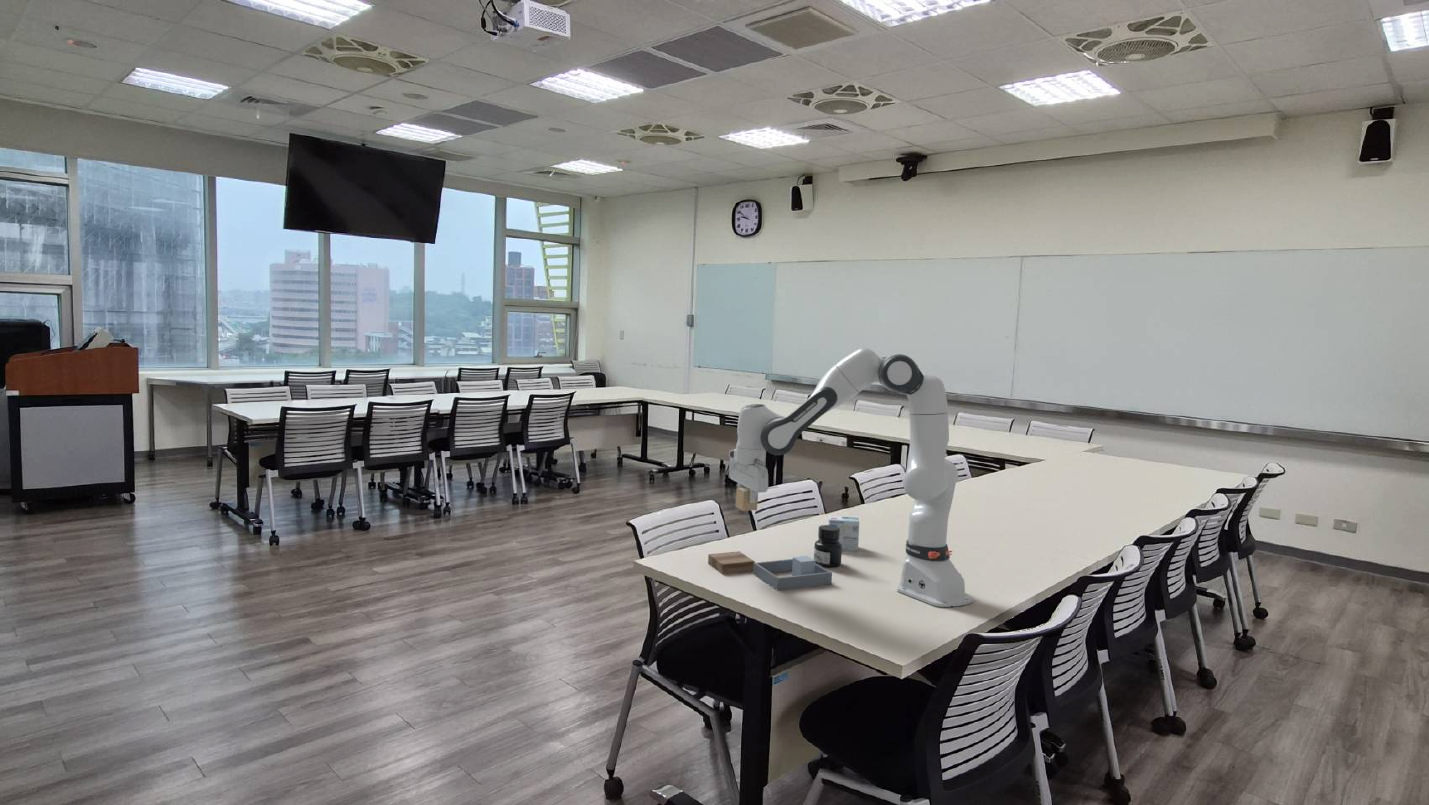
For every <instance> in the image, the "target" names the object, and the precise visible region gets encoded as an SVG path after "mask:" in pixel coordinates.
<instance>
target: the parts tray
mask: <svg viewBox="0 0 1429 805" xmlns="http://www.w3.org/2000/svg"><path fill="white" fill-rule="evenodd" d="M792 564H793V558H789V559H787V558H786V559H779V560H769V561H759V562H755V563H753V571H752V575H754V576H755V575H756V576H755V577H757V578H758V577H759V578H758V579H760V580H761V581H763V580H764V581H765V582H764V581H763V582H764V583H766V584H767V583H768V584H769V585H768V584H767V585H768V586H769V587H771V586H773V587H774V588H776V589H777V590H776V589H775V590H776V591H782V590H781V589H785V590H790V589H791V588H793V589H802V588H810V587H817V586H826V585H832V582H833V581H832V580H833V572H831V571H830V570H828V569H826V567H823V566H820V565H818V564H816V563H815V574H807V575H798V576H792V575H791V576H782V577H781V576H779V577H778V576H777V575H776V574H774V573H781V572H782V573H783V572H792ZM773 587H772V588H773ZM799 587H800V588H799ZM801 587H802V588H801ZM774 588H773V589H774ZM789 588H790V589H789ZM779 589H780V590H779Z"/></svg>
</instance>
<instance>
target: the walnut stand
mask: <svg viewBox="0 0 1429 805" xmlns="http://www.w3.org/2000/svg"><path fill="white" fill-rule="evenodd" d="M707 558H708V559H707V563H708V565H710V566H711V567H712V568H714V569H715V570H716V571H718V572H719V573H720V572H721V573H720V574H722V575H725V574H726V573H727V574H735V573H736V572H737V573H744V572H746V573H747V572H753V563H756V561H755V560H754V559H752V558H751V557H748V556H747V555H746V554H744V553H742V552H741V551H730V552H729V551H728V552H719V553H710V554H709V553H708V556H707ZM727 574H726V575H727Z"/></svg>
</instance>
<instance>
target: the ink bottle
mask: <svg viewBox="0 0 1429 805" xmlns="http://www.w3.org/2000/svg"><path fill="white" fill-rule="evenodd" d="M839 535H840V528H839V527H837V526H832V525H828V524H824V525H823V524H822V525H819V526H818V533H817V536H818V539H817V540H816V541H815V542H814V547H813V560H815V563H816V564H818V565H819V566H821V567H823V568H835V567H839V566H841V564H842V556H843V555H842V554H843V550H842V545H841V543H840V542H839V541H838V540H839Z"/></svg>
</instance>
